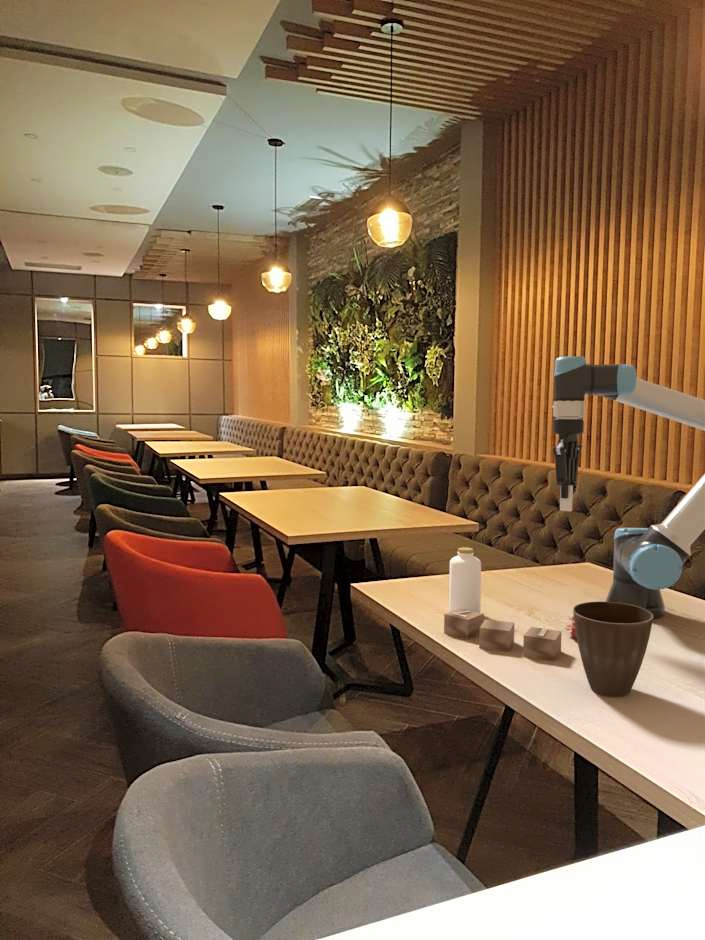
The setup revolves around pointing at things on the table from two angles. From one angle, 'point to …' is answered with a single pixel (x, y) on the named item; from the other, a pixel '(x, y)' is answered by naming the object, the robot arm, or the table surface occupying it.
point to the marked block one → (542, 643)
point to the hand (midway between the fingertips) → (566, 510)
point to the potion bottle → (465, 581)
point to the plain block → (496, 635)
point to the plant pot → (612, 644)
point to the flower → (572, 627)
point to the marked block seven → (463, 623)
